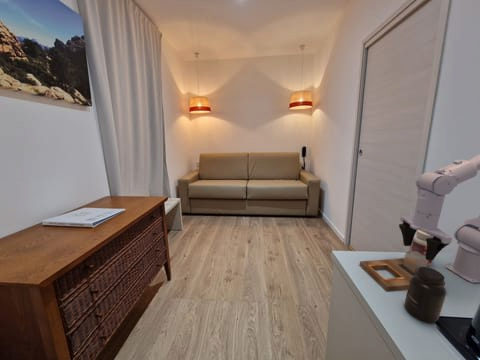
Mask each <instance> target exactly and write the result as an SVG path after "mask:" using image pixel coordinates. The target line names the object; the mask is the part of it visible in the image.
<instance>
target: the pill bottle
mask: <svg viewBox="0 0 480 360" xmlns="http://www.w3.org/2000/svg"><path fill="white" fill-rule="evenodd" d="M426 238H433V237H432V236H430V235H428V234H426V233H424V232H422V231H420V230H417V231H416V233H415V235H414V238H413V242H412V244H411V249H410V252H413V251H417V252H419V253H421V254H422V255H424V256H426V251H427V242H426ZM432 264H433V260H428V264H427V267H429V266H431V265H432Z"/></svg>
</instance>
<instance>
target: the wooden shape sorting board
mask: <svg viewBox="0 0 480 360" xmlns="http://www.w3.org/2000/svg"><path fill="white" fill-rule="evenodd" d="M404 259H405V257H404V258H403V257H401V258H389V259H388V258H387V259H375V260H374V259H373V260H362V261H361V260H360V261H359V267H360V268H361V269H363V270H364V271H365V273H366V274H368V276H370V277H371V278H372V279H373V280H374V281H375V282H376V283H377V284H379V286H380V287H382V288H383V290H385V292H395V291H396V290H397V291H405V290H406V291H408V287H409V283H410V279H411V278H412V277H413V276H412V275H411V274H410V273H408V272H407V271H406V270H404V269H403V263H404ZM383 270H385V271H387V272H388V273H390V275H392V276H393V277H391V278H384V276H382V274H380V273H379V272H378V271H383ZM445 284H446V281H445V280H444V284H443V286H444V287H445Z"/></svg>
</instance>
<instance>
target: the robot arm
mask: <svg viewBox="0 0 480 360" xmlns="http://www.w3.org/2000/svg"><path fill="white" fill-rule="evenodd" d="M478 171H480V154H478V155H476V156H474V157H472V158H470V159H468V160H466V159H455V160H453V161H452V163H450V164H448V165H446V166H444V167H441V168H438V169H436V170H435V171H427V172H424V173H422V174H421V175H419V177H418V178H417V179H416V180H415V186H416V187H417V193H416V194H417V195H418V197H417V200H416V205H415V210H414V213H413V214H414V215H413V217H410V216H407V215H401V216H400V220H399V222H401V223H399V224H398V227H399V230H400V232H401V236H402V241H403V243H402V244H403V246H404V247H412V243H413V239H414V237H415V236H416V234H417V230H420V231H422V232H424V233H426V234H428V235H430V236H432V237H433V238H426V242H427V251H426V259H427V260H432V261H434V260H435V258H436V257H437V256H438V254H439V253H440V252H441V251H442V250H443V249H444V248H446V247H447V246H448V245H450V244H451V243H452V240H453V237H452V236H451V235H449V234H447V233H445V232H444V231H442V229H440V228H438V225H439V220H440V218H441V217H440V216H441V214H442V210H443V204H444V200H445V198H446V195H449V194H450V193H452V192H453V191H454V189H455V188H456V187H458V185H460V184H461V183H463V182H466V181H468V180H471V179H473V178H475V177H476V176H477V175H478ZM453 236H454V239H455V240H456V244H457V245H458V246H457V250H456V255H455V257H454V261H453V264H449V265H448V264H447V265H444V267H445V268H446V269H447V270H450V271H451V272H453V273H454V274H456V275H457V276H459V277H460V278H463V279H464V280H466V281H468V282H469V283H471V284H475V283H477V284H478V283H480V214H479V215H478V217H475V218H469V219H465V221H464V222H463V223H462V224H461V225H459V226H458V227H457V228H456V229H455V230H454V234H453Z"/></svg>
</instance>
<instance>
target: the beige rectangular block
mask: <svg viewBox="0 0 480 360" xmlns="http://www.w3.org/2000/svg"><path fill="white" fill-rule="evenodd" d="M404 258H405V259H404V263H403V269H404V270H406V271H407V272H408V273H410V274H411V275H412V276H415V275H417V272H418V270H419V268H420V267H428V266H427V264H428V260H427V259H426V256H424V255H422V254H421V253H419V252H417V251H413V252H411V251H406V252H405V256H404Z"/></svg>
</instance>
